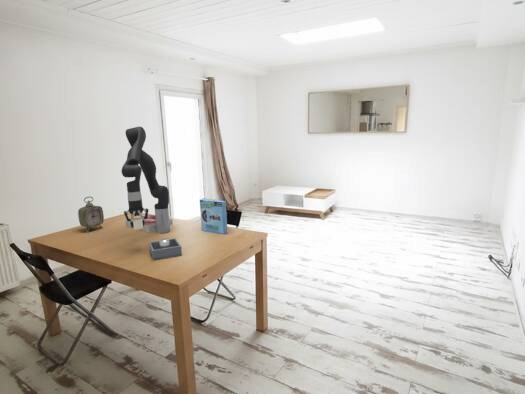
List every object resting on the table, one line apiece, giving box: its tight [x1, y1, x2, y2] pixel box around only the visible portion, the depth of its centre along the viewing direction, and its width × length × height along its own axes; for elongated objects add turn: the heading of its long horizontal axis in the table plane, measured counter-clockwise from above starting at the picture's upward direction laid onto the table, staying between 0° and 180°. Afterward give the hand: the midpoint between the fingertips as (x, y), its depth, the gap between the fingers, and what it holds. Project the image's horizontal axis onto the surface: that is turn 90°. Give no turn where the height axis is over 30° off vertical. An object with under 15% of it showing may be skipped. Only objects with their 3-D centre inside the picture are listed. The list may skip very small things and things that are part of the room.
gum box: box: [199, 197, 228, 235], centre depth 225 cm, size 20×5×23 cm, turn 60°
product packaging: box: [124, 213, 174, 233], centre depth 244 cm, size 22×28×5 cm
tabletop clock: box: [77, 196, 105, 233], centre depth 233 cm, size 14×9×25 cm, turn 150°
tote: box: [148, 237, 183, 261], centre depth 187 cm, size 16×16×6 cm
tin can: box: [158, 238, 170, 249], centre depth 187 cm, size 6×6×7 cm
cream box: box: [133, 216, 143, 231], centre depth 191 cm, size 6×5×6 cm
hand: (138, 226), depth 192 cm, fingers closed on cream box, 5 cm apart
